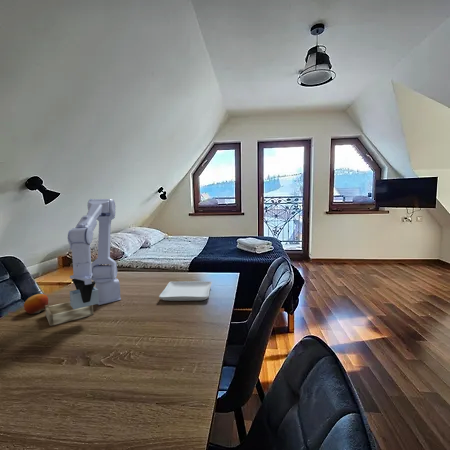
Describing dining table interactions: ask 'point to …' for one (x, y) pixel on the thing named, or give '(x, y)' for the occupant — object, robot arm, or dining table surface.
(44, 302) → the fruit
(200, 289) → the salad plate
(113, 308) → the dining table surface
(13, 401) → the dining table surface
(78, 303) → the small crate
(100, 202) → the robot arm
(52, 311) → the pine crate
